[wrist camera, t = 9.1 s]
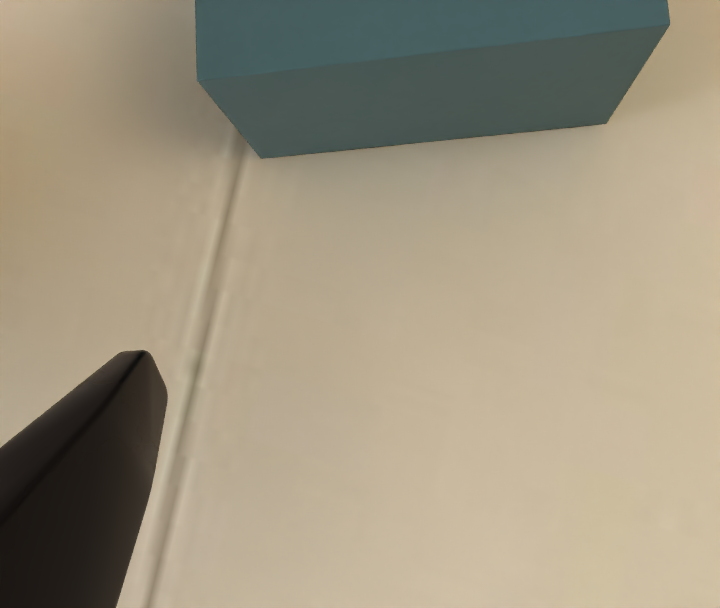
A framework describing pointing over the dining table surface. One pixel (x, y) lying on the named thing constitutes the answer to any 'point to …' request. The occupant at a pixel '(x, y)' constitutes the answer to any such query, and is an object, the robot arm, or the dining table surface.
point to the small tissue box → (417, 67)
